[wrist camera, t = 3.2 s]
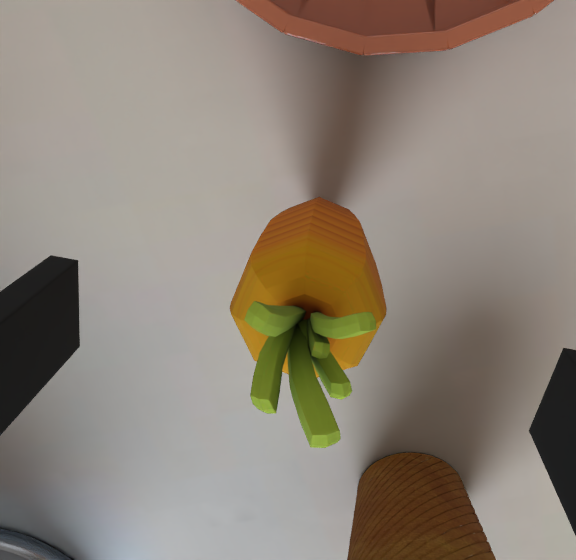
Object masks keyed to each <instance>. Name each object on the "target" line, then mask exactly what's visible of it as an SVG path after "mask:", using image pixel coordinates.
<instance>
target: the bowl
mask: <svg viewBox="0 0 576 560" xmlns="http://www.w3.org/2000/svg"><path fill="white" fill-rule="evenodd" d="M235 1H237V2H238V3H240V4H241V5H243V6H244V7H246V8H247V9H248V10H250V11H251V12H253V13H254V14H256V15H257V16H259V17H260V18H261V19H263V20H264V21H266V22H267V23H269V24H270V25H271V26H273V27H274V28H276V29H277V30H279V31H280V32H282V33H284V34H286V35H290V36H293V37H297V38H300V39H304V40H308V41H311V42H315V43H318V44H322V45H325V46H329V47H333V48H336V49H340V50H343V51H347V52H350V53H354V54H358V55H364V56H371V55H386V54H401V53H416V52H431V51H446V50H447V49H453V48H455V47H457V46H460V45H462V44H465V43H467V42H470V41H472V40H475V39H477V38H480V37H482V36H485V35H487V34H490V33H492V32H495V31H497V30H500V29H502V28H505V27H507V26H510V25H512V24H515V23H517V22H520V21H522V20H525V19H527V18H530V17H532V16H533V15H535V14H537V13H539V12H540V11H541V10H542V9H544V8H545V7H546V6H548V5H549V4H550V3H551V2H553V1H554V0H235Z"/></svg>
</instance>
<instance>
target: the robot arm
mask: <svg viewBox="0 0 576 560" xmlns="http://www.w3.org/2000/svg"><path fill="white" fill-rule="evenodd" d="M79 347H80V339H79V286H78V260H73V259H68V258H62V257H56V256H49V257H48V258H47V259H45V260H44V261H42V262H41V263H40V264H38V265H37V266H35V267H34V268H33V269H31V270H30V271H28V272H27V273H26V274H24V275H23V276H21V277H20V278H19V279H17V280H16V281H14V282H13V283H12V284H10V285H9V286H7V287H6V288H5V289H3V290H2V291H1V292H0V435H1V434H2V433H3V432H4V431H5V430H6V428H7V427H8V426H9V425H10V424H11V423H12V422H13V421H14V419H15V418H16V417H17V416H18V415H19V414H20V413H21V412H22V411H23V409H24V408H25V407H26V406H27V405H28V404H29V403H30V402H31V400H32V399H33V398H34V397H35V396H36V395H37V394H38V393H39V391H40V390H41V389H42V388H43V387H44V386H45V385H46V384H47V382H48V381H49V380H50V379H51V378H52V377H53V376H54V375H55V373H56V372H57V371H58V370H59V369H60V368H61V367H62V366H63V364H64V363H65V362H66V361H67V360H68V359H69V358H70V357H71V356H72V354H73V353H74V352H75V351H76V350H77V349H78V348H79ZM529 432H530V434H531V436H532V438H533V441H534V443H535V445H536V447H537V450H538V452H539V454H540V456H541V459H542V461H543V463H544V465H545V468H546V470H547V472H548V474H549V477H550V479H551V481H552V483H553V486H554V488H555V490H556V493H557V495H558V497H559V499H560V502H561V504H562V506H563V508H564V511H565V513H566V515H567V517H568V520H569V522H570V524H571V526H572V529H573V531H574V533H575V535H576V350H572V349H567V348H563V350H562V353H561V355H560V357H559V360H558V362H557V365H556V367H555V369H554V372H553V374H552V377H551V379H550V381H549V384H548V386H547V389H546V391H545V393H544V396H543V398H542V400H541V403H540V405H539V408H538V410H537V412H536V415H535V417H534V420H533V422H532V424H531V427H530V429H529ZM0 560H71V559H70V558H68V557H67V556H65V555H64V554H62V553H61V552H59V551H58V550H56V549H54V548H53V547H51V546H49V545H47V544H45V543H43V542H41V541H38V540H36V539H34V538H31V537H29V536H26V535H23V534H20V533H16V532H12V531H8V530H4V529H0Z"/></svg>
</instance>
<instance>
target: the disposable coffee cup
mask: <svg viewBox="0 0 576 560" xmlns="http://www.w3.org/2000/svg"><path fill="white" fill-rule="evenodd" d="M467 496H468V494H467V492H466V490H465V489H464V485H463V483H462V480H461V478H460V476H459V475H458V473H457V472H456V471H455V470H454V469H453V468H452V467H451V466H450V465H448V464H447V463H446V462H444V461H442V460H441V459H438V458H436V457H433V456H431V455H426V454H421V453H409V452H408V453H398V454H394V455H390V456H387V457H385V458H383V459H380V460H378V461H377V462H375V463H374V464H372V465H371V466H370V467H369V468H368V469H367V470H366V471H365V472H364V474H363V475H362V477H361V479H360V481H359V485H358V490H357V498H356V505H355V511H354V518H353V526H352V531H351V538H350V545H349V552H348V558H347V560H496V559H495V556H494V554H493V552H492V551H491V547H490V545H489V542H487V537H486V535H485V533H484V532H482V531H483V528H482V526H481V524H480V522H479V520H478V517H477V515H476V514H475V510H474V508H473V506H472V505H471V501H470V499H469V497H467Z"/></svg>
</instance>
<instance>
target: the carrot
mask: <svg viewBox="0 0 576 560" xmlns="http://www.w3.org/2000/svg"><path fill="white" fill-rule="evenodd" d="M230 311H231V315H232V317H233V319H234V321H235V323H236V325H237V327H238V329H239V331H240V333H241V335H242V337H243V339H244V341H245V343H246V345H247V347H248V349H249V351H250V353H251V355H252V357H253V359H254V360H255V361H257V364H256V368H255V372H254V376H253V382H252V388H251V395H250V396H251V399H252V402H253V404H254V405H255V406H256V407H257V408H258V409H259V410H261V411H263V412H265V413H267V414H268V413H276V410H277V404H278V398H279V392H280V384H281V376H282V372H284V373H287V374H289V382H290V389H291V393H292V397H293V400H294V403H295V407H296V410H297V413H298V416H299V419H300V423H301V425H302V428H303V430H304V432H305V435H306V437H307V440H308V442H309V445H310V447H316V448H326V447H328V446H330V445H332V444H335V443H337V442H338V441H339V440H340V439H341V438H340V430H339V428H338V426H337V423H336V421H335V418H334V416H333V413H332V411H331V408H330V406H329V404H328V402H327V399H326V397H325V395H324V393H323V391H322V388H321V386H320V384H319V382H318V380H317V377H320V379H321V381H322V382H323V384H324V386H325V388H326V389H327V391H328V393H329V395H330V397H333V398H337V399H343V398H345V397H347V396H349V395H350V394H351V392H352V388H351V384H350V381H349V379H348V378H347V376H346V375H345V373H344V372H343V370H345V369H348V368H351V367H355V366H358V364H359V362H360V361H361V359H362V357H363V355H364V353H365V352H366V350H367V348H368V346H369V344H370V343H371V341H372V339H373V337H374V335H375V334H376V332H377V330H378V328H379V326H380V325H381V323H382V321H383V319H384V317H385V315H386V304H385V299H384V294H383V289H382V284H381V281H380V277H379V273H378V270H377V266H376V263H375V260H374V258H373V255H372V253H371V250H370V247H369V245H368V242H367V239H366V237H365V234H364V232H363V229H362V226H361V224H360V222H359V220H358V219H357V218H356V216H355V215H354V214H353V213H352V212H351V211H350V210H349V209H346V208H344V207H342V206H339V205H337V204H335V203H332V202H330V201H328V200H325V199H323V198H321V197H317V198H315V199H312V200H309V201H307V202H304V203H302V204H299V205H296V206H294V207H291V208H289V209H287V210H285V211H283V212H281V213H280V214H278V215H277V216H275V217H274V218H273V219H271V220H270V222H269V224H268V225H267V227H266V228H265V230H264V231H263V233H262V234H261V236H260V238H259V240H258V241H257V243H256V245H255V247H254V249H253V251H252V253H251V255H250V258H249V260H248V262H247V265H246V267H245V270H244V272H243V275H242V277H241V280H240V282H239V284H238V287H237V289H236V292H235V294H234V297H233V299H232V302H231V305H230Z"/></svg>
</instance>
